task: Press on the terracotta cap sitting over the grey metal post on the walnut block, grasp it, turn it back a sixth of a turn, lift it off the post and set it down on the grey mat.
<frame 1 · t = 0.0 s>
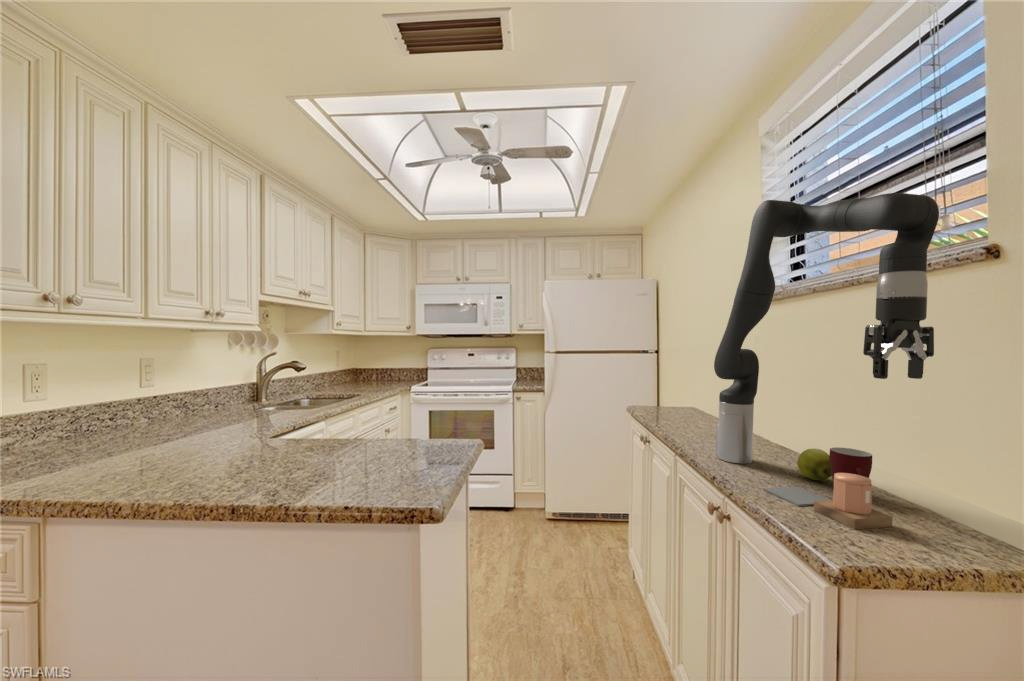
hand: (897, 378, 86), 29 cm above the countertop, fingers open, 8 cm apart
apple: (815, 480, 114), on the countertop
cap: (851, 508, 90), point 2 cm above the countertop, touching post block
mug: (852, 496, 103), on the countertop
post block: (851, 518, 90), on the countertop
mat: (798, 496, 101), on the countertop
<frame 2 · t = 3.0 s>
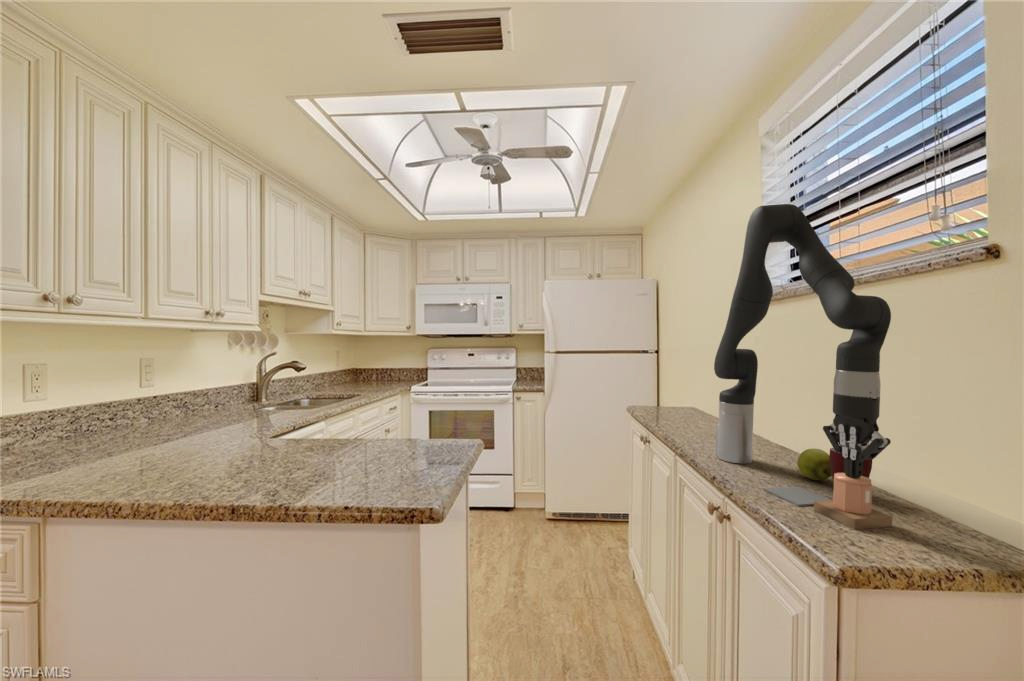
hand: (853, 477, 90), 9 cm above the countertop, fingers closed
nothing on the countertop moved.
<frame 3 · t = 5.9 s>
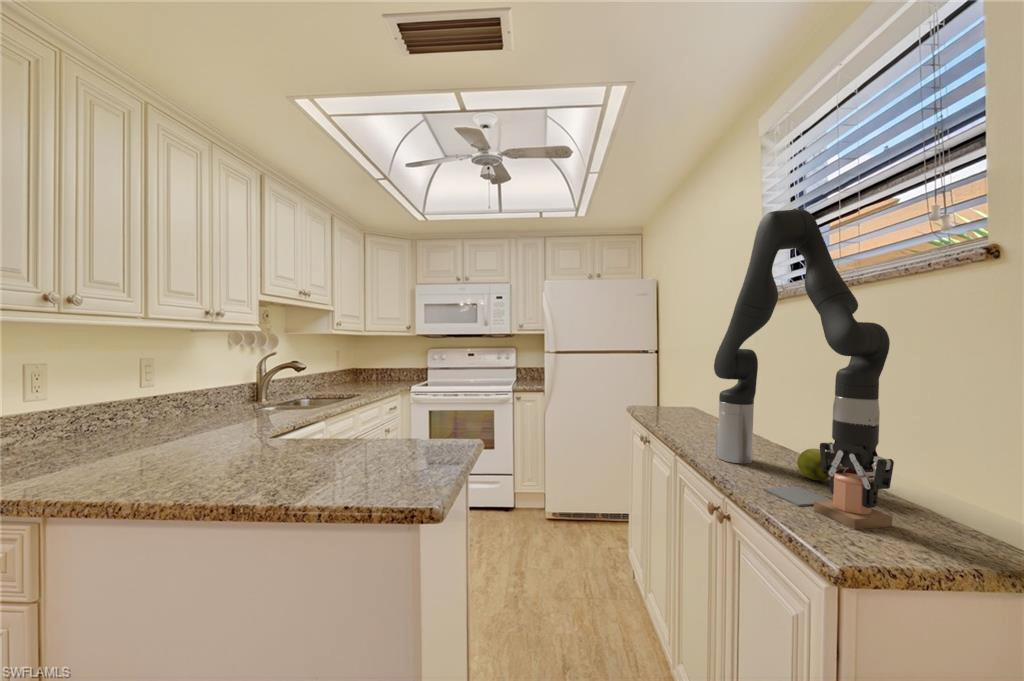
hand: (852, 500, 90), 4 cm above the countertop, fingers closed on cap, 6 cm apart
cap: (851, 508, 90), point 2 cm above the countertop, touching gripper, post block
everything else where it was.
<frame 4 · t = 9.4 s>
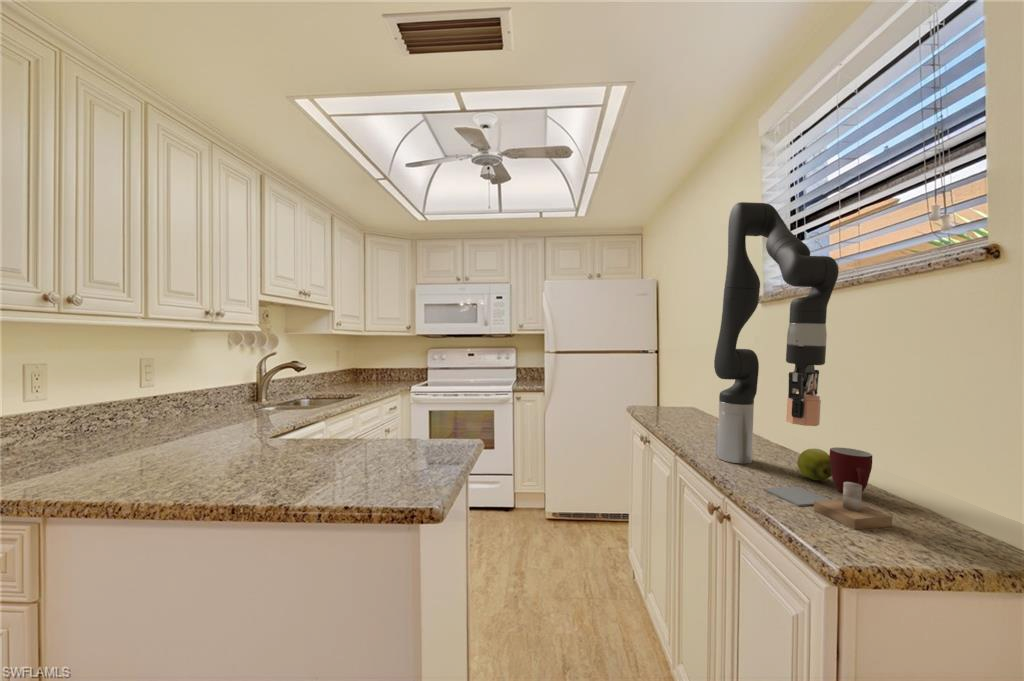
hand: (802, 415, 101), 19 cm above the countertop, fingers closed on cap, 6 cm apart
cap: (802, 422, 101), point 17 cm above the countertop, touching gripper
everything else where it was.
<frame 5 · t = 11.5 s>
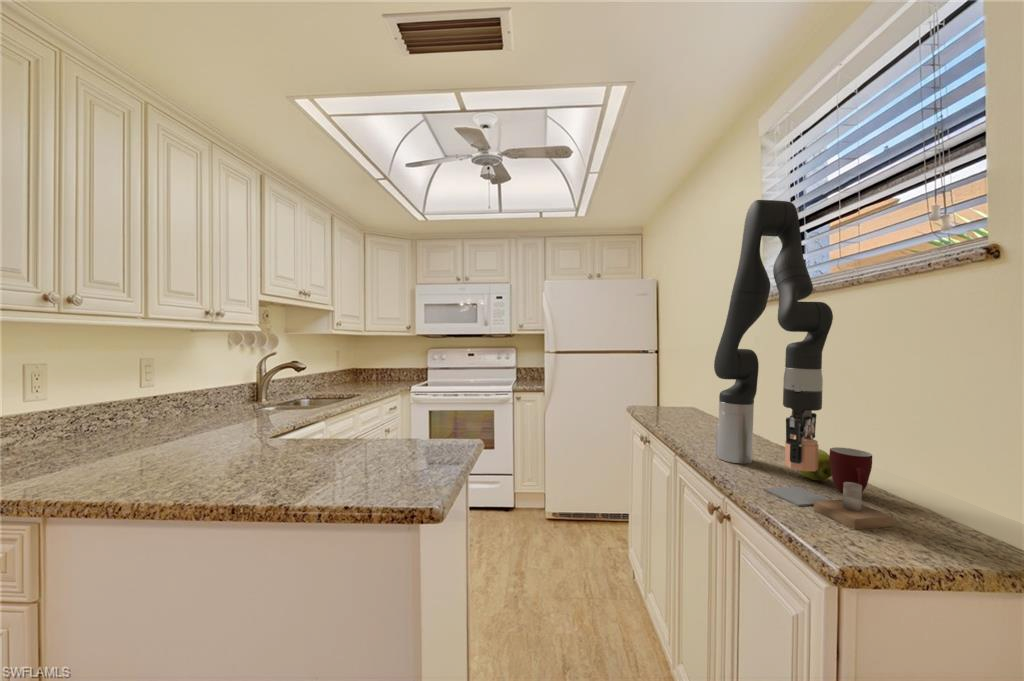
hand: (800, 459, 101), 9 cm above the countertop, fingers closed on cap, 6 cm apart
cap: (801, 467, 101), point 7 cm above the countertop, touching gripper
everything else where it was.
when the fingers open (4 cm above the countertop, at t = 13.1 s): cap drops 1 cm, resting on mat.
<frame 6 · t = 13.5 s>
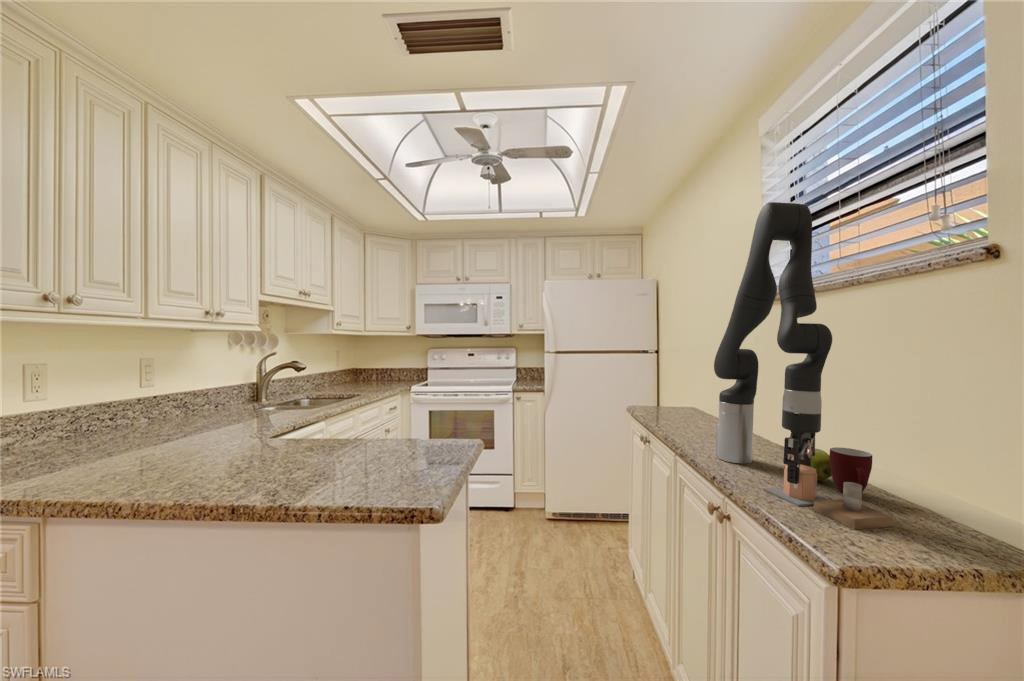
hand: (798, 479, 101), 4 cm above the countertop, fingers open, 8 cm apart
cap: (799, 494, 101), resting on mat
everything else where it was.
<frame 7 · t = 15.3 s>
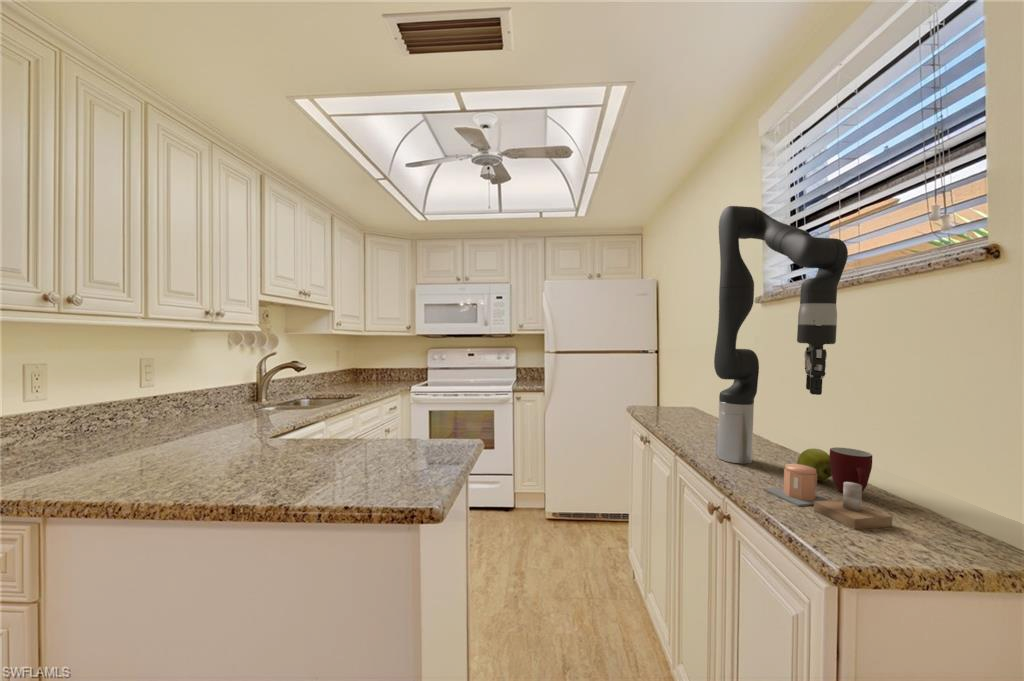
hand: (813, 392, 103), 24 cm above the countertop, fingers open, 8 cm apart
nothing on the countertop moved.
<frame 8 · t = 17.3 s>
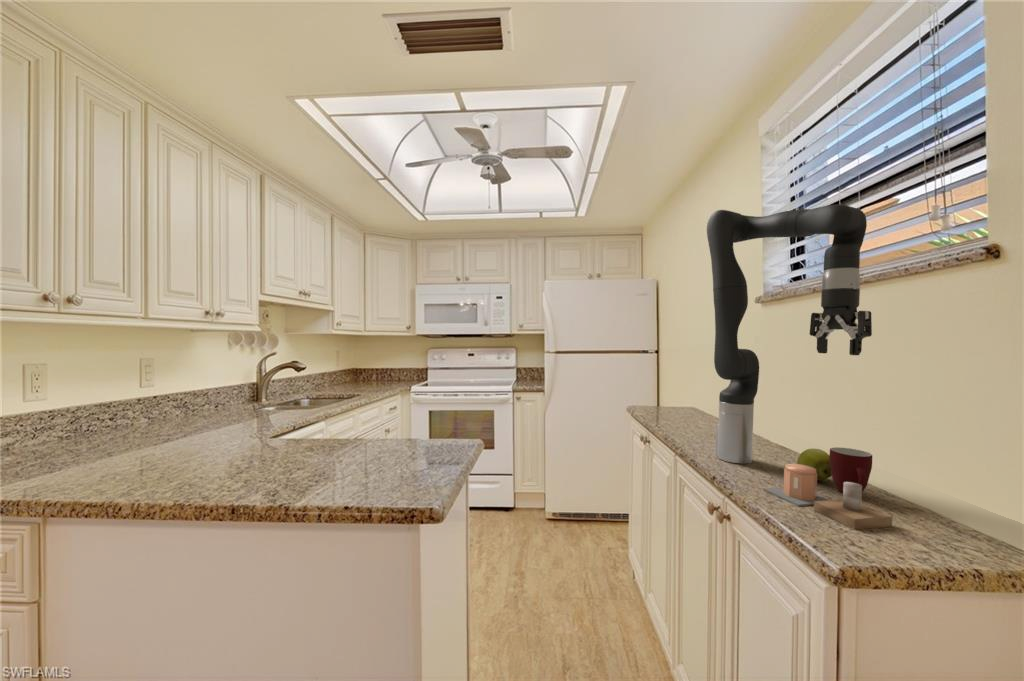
hand: (837, 354, 107), 33 cm above the countertop, fingers open, 8 cm apart
nothing on the countertop moved.
at the end: cap inside the target area on the mat (0.3 cm from its centre), point 0.4 cm above the mat's base; cap tilted 0°; the gripper is holding nothing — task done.
